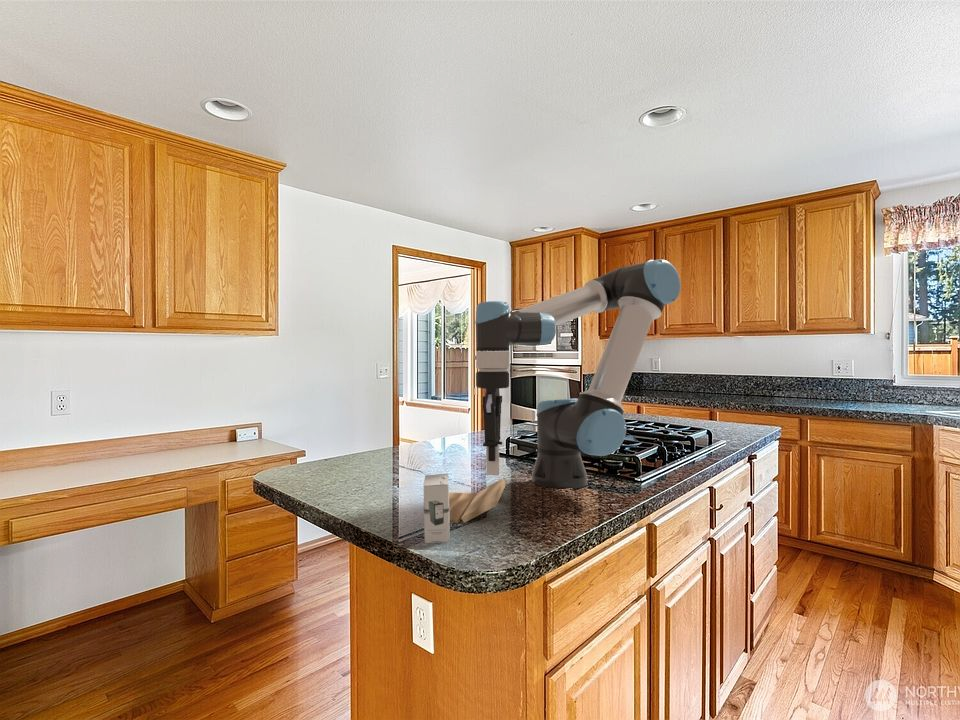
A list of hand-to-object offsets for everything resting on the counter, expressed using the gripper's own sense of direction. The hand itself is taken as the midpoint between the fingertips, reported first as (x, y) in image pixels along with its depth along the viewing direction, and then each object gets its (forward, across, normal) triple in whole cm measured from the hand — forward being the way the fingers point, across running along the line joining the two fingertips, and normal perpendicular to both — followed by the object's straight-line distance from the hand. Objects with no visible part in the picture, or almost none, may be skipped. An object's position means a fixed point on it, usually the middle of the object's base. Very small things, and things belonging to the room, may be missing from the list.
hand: (492, 474), depth 114 cm
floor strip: (+9, 0, -9) cm, 13 cm away
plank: (+6, 0, -1) cm, 6 cm away
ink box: (+9, +17, -9) cm, 21 cm away
